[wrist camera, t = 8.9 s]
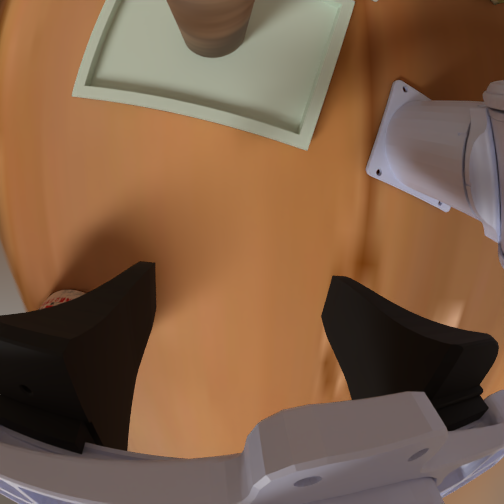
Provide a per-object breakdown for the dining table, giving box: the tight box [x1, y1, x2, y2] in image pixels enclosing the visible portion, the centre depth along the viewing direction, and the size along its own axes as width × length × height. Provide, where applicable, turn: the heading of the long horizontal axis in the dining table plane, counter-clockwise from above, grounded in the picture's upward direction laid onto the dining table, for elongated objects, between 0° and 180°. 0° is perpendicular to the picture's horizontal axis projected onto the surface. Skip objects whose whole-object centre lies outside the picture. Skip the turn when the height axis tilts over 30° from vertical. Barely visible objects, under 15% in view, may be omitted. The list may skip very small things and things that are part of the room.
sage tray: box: [72, 0, 355, 151], centre depth 15 cm, size 16×12×2 cm
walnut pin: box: [166, 0, 255, 58], centre depth 11 cm, size 4×4×9 cm
